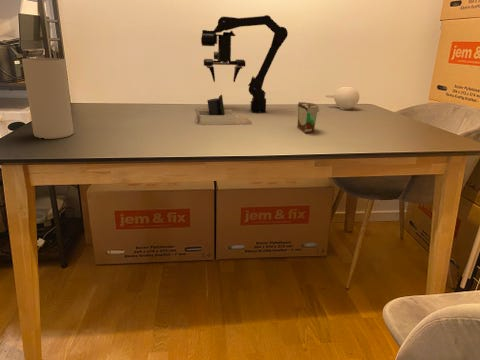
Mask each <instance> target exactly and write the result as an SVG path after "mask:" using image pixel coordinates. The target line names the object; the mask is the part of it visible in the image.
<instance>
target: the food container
mask: <svg viewBox="0 0 480 360" xmlns="http://www.w3.org/2000/svg"><path fill="white" fill-rule="evenodd" d="M319 112H320V107H319V105H318V104H316V103H314V102H313V103H312V102H305V101H303V102H302V101H301V102H299V101H298V104H297V125H296V128H297V129H298V130H299V131H300V132H302V133H304V134H313V133H314V132H315V127H316V120H317V116H318V113H319Z"/></svg>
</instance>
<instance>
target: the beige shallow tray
mask: <svg viewBox="0 0 480 360" xmlns="http://www.w3.org/2000/svg"><path fill="white" fill-rule="evenodd" d="M195 111H196V112H195V115H196V116H195V117H196V118H195V120H196V124H197V126H198V125H201V126H202V125H203V126H204V125H205V126H206V125H209V126H210V125H216V126H217V125H221V126H222V125H253V122H252V120H250V119H249V117H248V116H236V114H232V113H233V110H232V109H224V113H225V115H209V109H196V110H195Z"/></svg>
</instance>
